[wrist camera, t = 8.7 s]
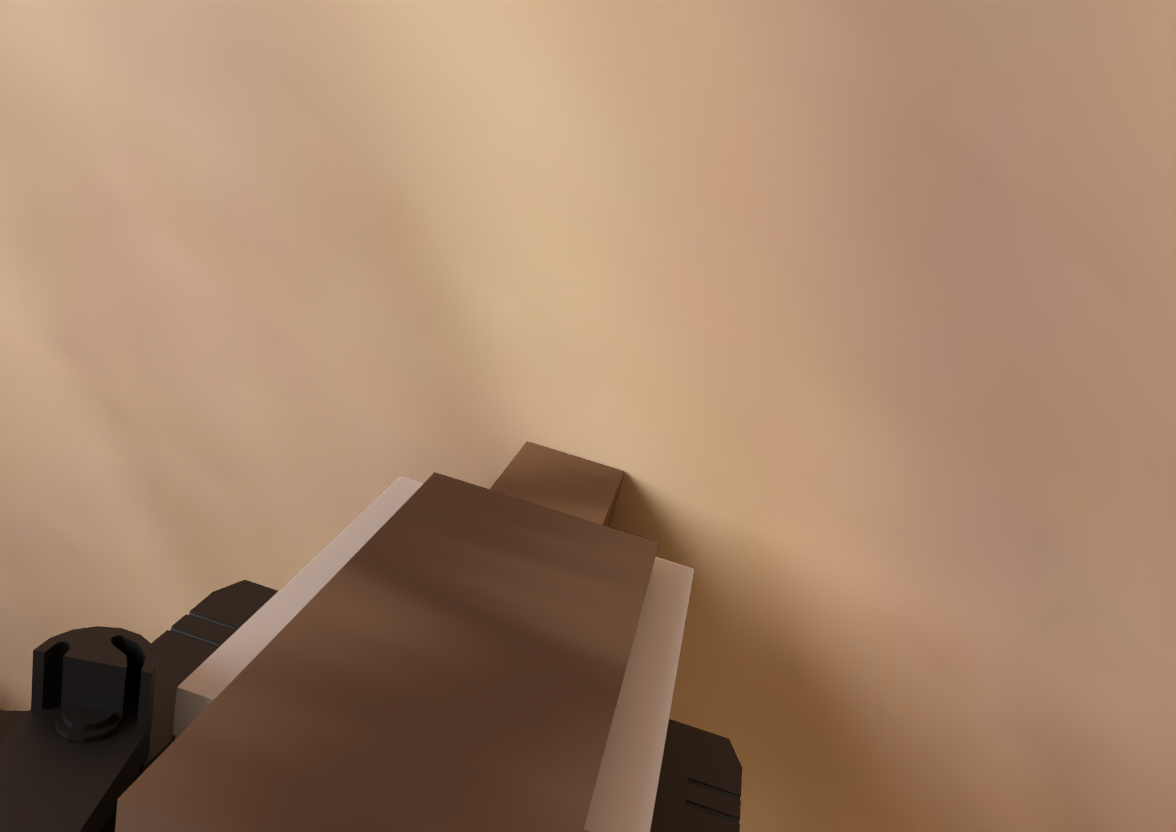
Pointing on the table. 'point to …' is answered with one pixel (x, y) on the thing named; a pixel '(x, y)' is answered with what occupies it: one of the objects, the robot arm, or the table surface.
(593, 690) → the crook
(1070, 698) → the table surface
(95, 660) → the robot arm
